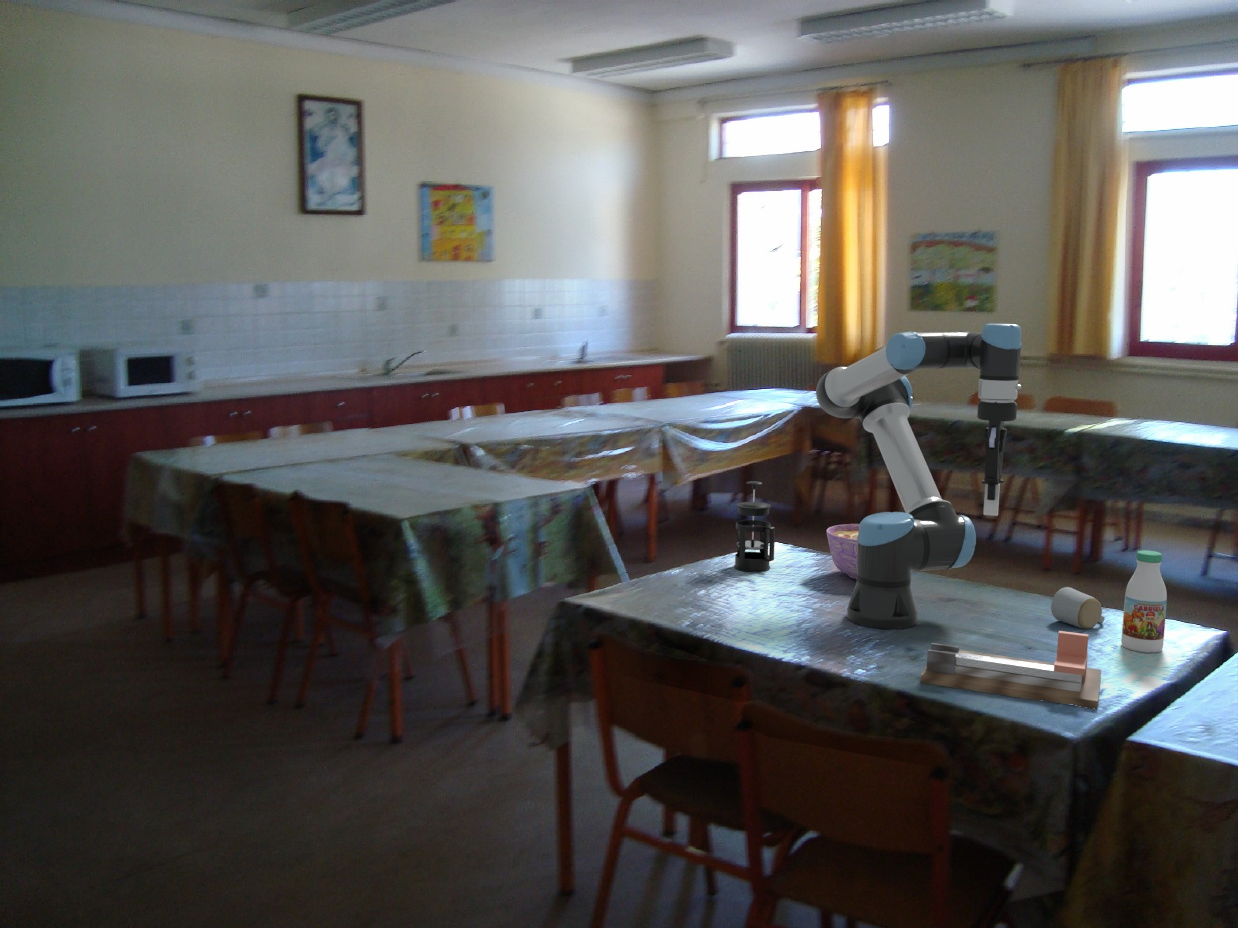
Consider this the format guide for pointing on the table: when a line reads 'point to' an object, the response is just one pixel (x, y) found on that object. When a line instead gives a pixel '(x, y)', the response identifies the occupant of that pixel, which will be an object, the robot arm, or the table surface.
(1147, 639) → the milk bottle
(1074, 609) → the ceramic mug
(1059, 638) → the bracket
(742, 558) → the french press
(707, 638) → the table surface
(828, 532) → the bowl of food
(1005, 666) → the tong arm
